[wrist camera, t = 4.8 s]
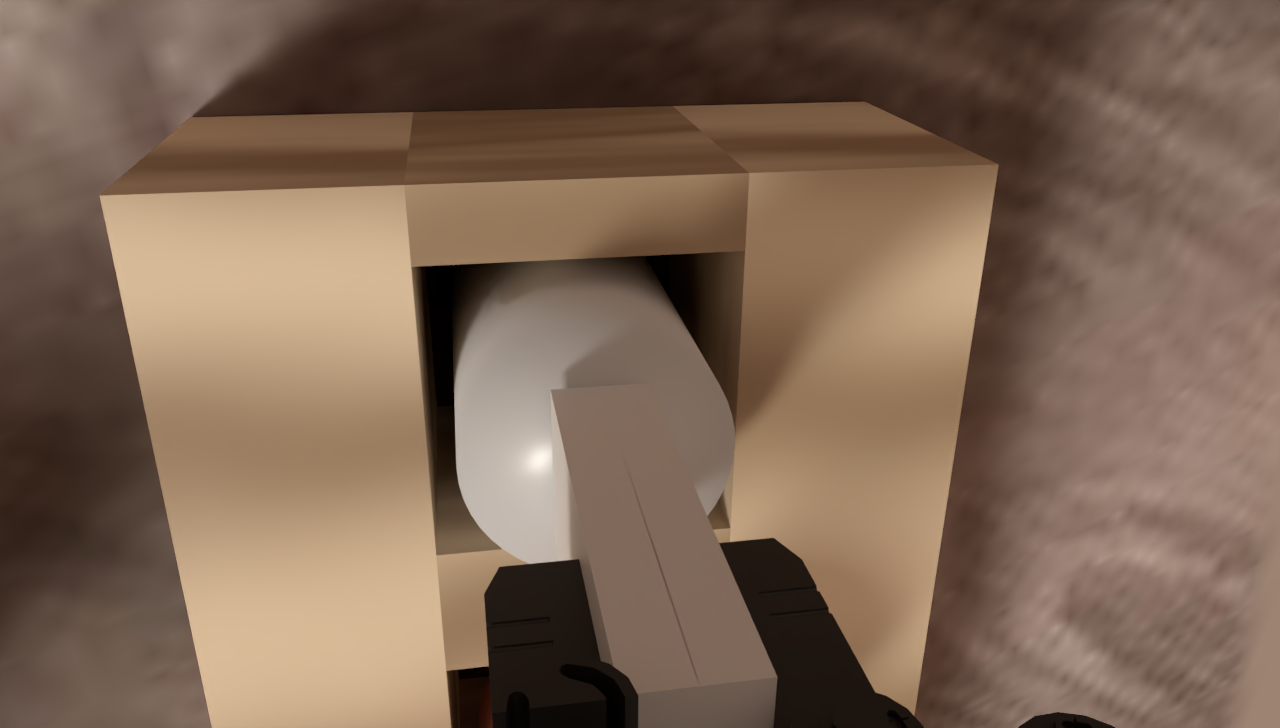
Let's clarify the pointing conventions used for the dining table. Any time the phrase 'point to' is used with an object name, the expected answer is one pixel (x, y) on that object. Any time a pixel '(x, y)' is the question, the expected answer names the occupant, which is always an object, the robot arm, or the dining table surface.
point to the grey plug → (568, 382)
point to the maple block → (425, 434)
